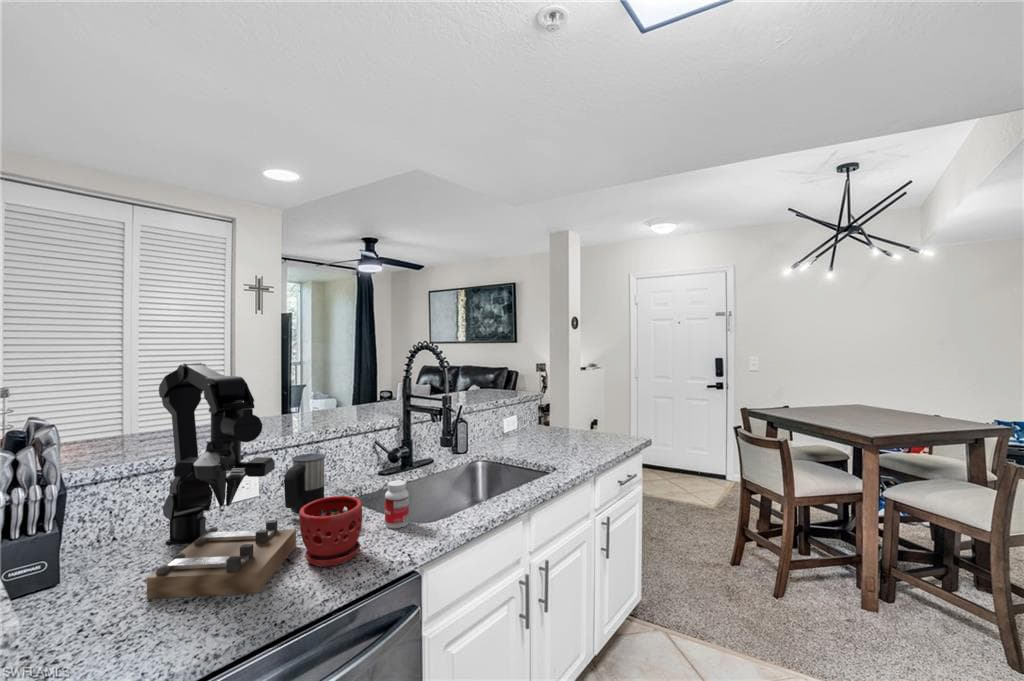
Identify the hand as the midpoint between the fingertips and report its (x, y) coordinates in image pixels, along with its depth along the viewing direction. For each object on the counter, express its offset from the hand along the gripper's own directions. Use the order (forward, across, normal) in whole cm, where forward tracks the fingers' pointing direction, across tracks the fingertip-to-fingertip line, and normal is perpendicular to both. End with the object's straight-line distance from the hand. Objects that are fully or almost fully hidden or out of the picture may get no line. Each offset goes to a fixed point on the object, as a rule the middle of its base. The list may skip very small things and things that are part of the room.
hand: (225, 505), depth 104 cm
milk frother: (+13, +10, +31) cm, 35 cm away
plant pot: (+12, +23, 0) cm, 26 cm away
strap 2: (+8, +2, +3) cm, 9 cm away
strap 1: (+8, +2, -10) cm, 13 cm away
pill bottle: (+12, +34, +19) cm, 41 cm away
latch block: (+12, +3, -4) cm, 13 cm away
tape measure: (+13, +21, +18) cm, 31 cm away
